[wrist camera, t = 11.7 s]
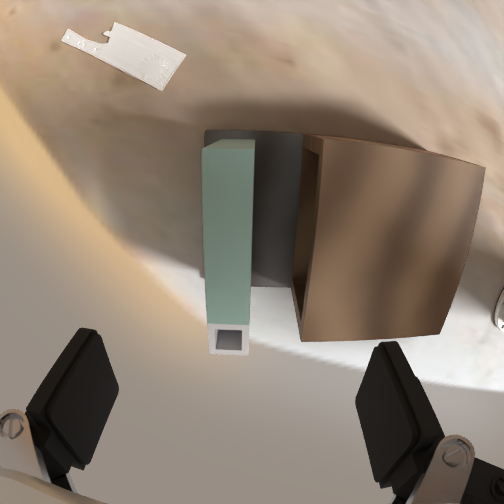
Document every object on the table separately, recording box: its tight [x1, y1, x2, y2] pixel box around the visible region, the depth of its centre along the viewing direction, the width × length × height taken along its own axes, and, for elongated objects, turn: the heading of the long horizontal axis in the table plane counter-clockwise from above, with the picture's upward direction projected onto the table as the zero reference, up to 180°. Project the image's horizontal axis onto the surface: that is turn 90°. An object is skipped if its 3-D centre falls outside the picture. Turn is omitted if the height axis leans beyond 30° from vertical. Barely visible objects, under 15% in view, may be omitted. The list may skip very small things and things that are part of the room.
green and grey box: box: [202, 139, 255, 355], centre depth 25 cm, size 3×15×11 cm, turn 179°
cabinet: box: [205, 130, 485, 342], centre depth 26 cm, size 23×16×10 cm
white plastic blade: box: [61, 22, 186, 91], centre depth 23 cm, size 5×15×1 cm, turn 55°
